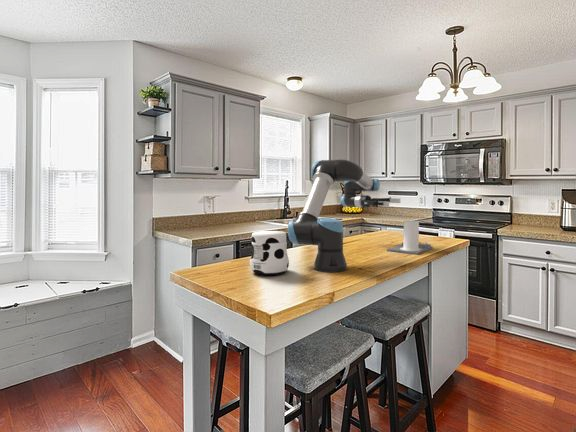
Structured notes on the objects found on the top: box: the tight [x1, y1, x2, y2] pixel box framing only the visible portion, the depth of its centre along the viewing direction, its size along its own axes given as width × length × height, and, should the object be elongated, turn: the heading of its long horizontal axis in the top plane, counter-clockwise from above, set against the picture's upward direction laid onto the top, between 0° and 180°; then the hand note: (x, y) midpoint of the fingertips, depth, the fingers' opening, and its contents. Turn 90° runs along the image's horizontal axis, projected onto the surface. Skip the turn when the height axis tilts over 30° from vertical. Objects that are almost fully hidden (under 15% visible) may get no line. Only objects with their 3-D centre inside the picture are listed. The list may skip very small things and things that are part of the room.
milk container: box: [249, 230, 290, 276], centre depth 157 cm, size 17×17×18 cm
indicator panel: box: [386, 241, 434, 256], centre depth 207 cm, size 24×18×4 cm
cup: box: [403, 220, 420, 250], centre depth 202 cm, size 8×8×16 cm
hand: (394, 202), depth 206 cm, fingers open, 13 cm apart
